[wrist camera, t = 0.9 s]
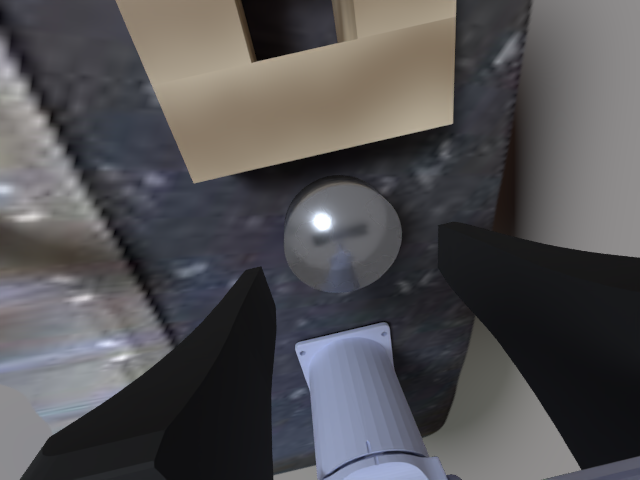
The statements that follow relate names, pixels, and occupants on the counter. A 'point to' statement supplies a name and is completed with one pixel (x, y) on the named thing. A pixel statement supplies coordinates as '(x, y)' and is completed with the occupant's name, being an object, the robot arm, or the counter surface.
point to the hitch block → (293, 80)
